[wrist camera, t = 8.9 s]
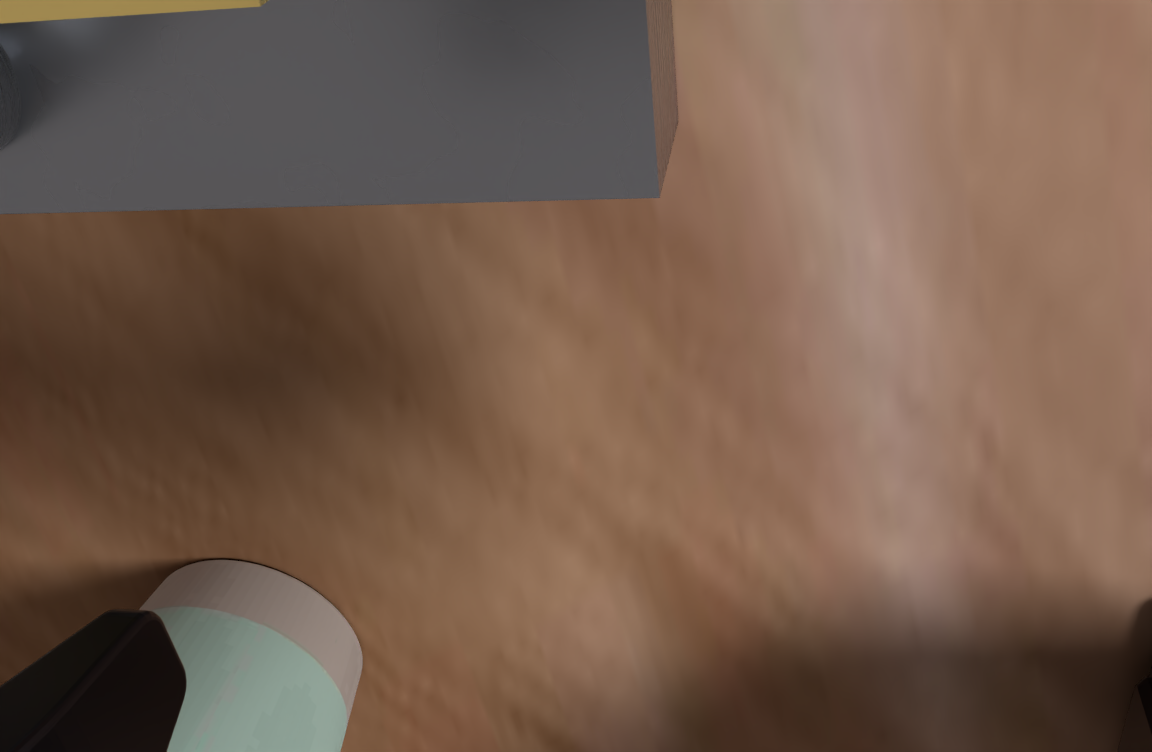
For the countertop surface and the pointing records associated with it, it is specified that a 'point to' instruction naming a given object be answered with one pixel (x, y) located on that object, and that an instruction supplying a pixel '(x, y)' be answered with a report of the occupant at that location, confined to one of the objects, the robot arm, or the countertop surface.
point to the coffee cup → (257, 660)
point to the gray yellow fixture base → (331, 102)
